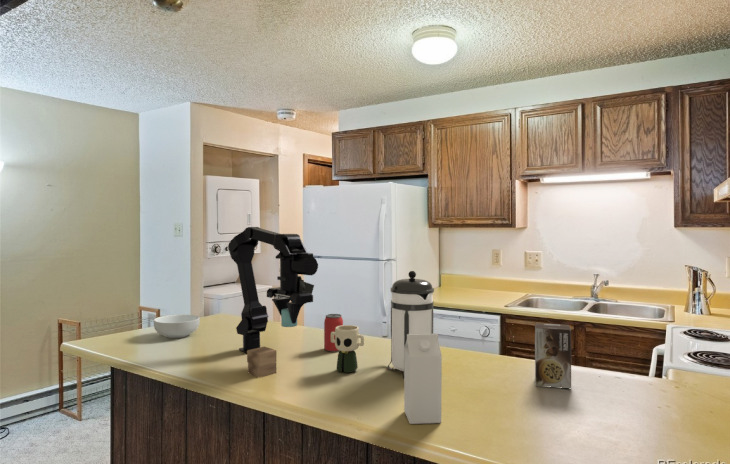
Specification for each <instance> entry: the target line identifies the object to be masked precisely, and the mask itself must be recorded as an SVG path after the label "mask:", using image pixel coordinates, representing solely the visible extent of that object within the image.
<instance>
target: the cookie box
mask: <svg viewBox="0 0 730 464" xmlns="http://www.w3.org/2000/svg"><path fill="white" fill-rule="evenodd" d="M534 384H535V385H537V386H536V387H540V386H551V387H562V388H571V389H572V329H571V327H570V324H564V323H563V324H562V323H561V324H559V323H542V322H541V323H540V322H536V323H535V324H534Z"/></svg>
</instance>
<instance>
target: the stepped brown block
mask: <svg viewBox="0 0 730 464" xmlns="http://www.w3.org/2000/svg"><path fill="white" fill-rule="evenodd" d="M246 355H247V357H246V360H247V364H248V363H251V364H254V365H256V366H259V367H260V366H263V365H267V364H270V363H274V362H276V363H277V349H273V348H271V347H267V346H260V348H255V349H251V350H247V353H246Z"/></svg>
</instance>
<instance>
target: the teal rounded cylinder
mask: <svg viewBox="0 0 730 464" xmlns="http://www.w3.org/2000/svg"><path fill="white" fill-rule="evenodd" d="M280 318H281V320H280V321H281V327H283V328H294V327H297V326H298V320H297V321H296V323H294V324H292V321H291V318H290V314H289V310H288V308H287V309H282V310H281V315H280Z"/></svg>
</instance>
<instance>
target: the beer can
mask: <svg viewBox="0 0 730 464" xmlns="http://www.w3.org/2000/svg"><path fill="white" fill-rule="evenodd" d="M342 325H344V320H343V317H342V314H340V313H339V314H338V313H328V314H325V318H324V322H323V326H324V327H323V331H324V332H323V339H324V340H323V342H324V343H323V344H324V346H323V348H324V350H325V351H326V352H329V353H330V352H331V353H332V352H333V353H336V352H339V351H340V350H338V349H337V348H336V346H335V343H332V342H331V332H335V328H336V327H337V326H342ZM334 340H335V335H334Z"/></svg>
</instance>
